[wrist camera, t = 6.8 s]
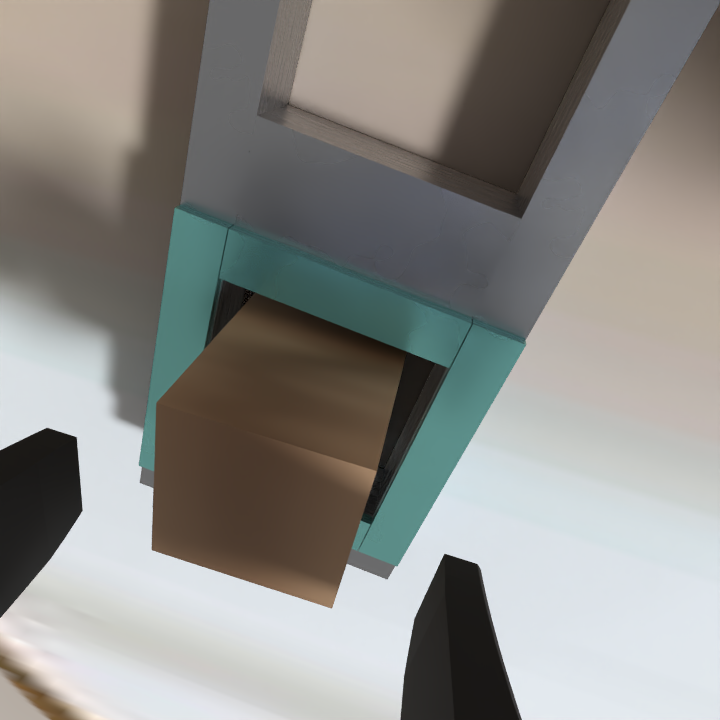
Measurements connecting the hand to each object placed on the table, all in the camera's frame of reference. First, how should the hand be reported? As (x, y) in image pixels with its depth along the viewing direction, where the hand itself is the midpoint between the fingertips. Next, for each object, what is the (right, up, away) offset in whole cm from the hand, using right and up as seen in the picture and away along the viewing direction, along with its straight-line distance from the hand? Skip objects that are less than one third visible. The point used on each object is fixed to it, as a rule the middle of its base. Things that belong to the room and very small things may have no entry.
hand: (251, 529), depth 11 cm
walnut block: (+1, +3, +5) cm, 6 cm away
